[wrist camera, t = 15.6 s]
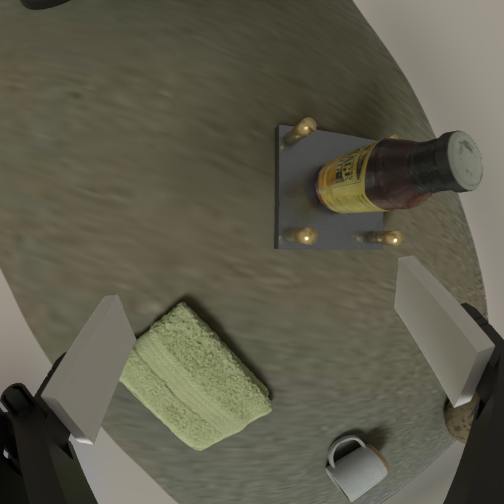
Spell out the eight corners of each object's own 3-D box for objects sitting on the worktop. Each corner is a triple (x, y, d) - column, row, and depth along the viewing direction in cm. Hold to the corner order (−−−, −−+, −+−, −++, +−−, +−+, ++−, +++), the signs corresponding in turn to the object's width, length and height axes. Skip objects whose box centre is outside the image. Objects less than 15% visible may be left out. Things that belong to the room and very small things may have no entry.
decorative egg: (427, 433, 45) (476, 468, 30) (440, 386, 44) (499, 418, 30) (460, 416, 47) (507, 444, 33) (473, 372, 47) (527, 396, 32)
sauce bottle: (336, 151, 35) (462, 94, 15) (366, 192, 36) (502, 167, 16) (299, 185, 34) (424, 138, 14) (333, 227, 35) (472, 224, 16)
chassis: (275, 128, 34) (294, 108, 28) (374, 144, 38) (404, 132, 31) (274, 248, 35) (295, 252, 29) (375, 248, 38) (408, 252, 32)
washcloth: (197, 448, 35) (200, 463, 32) (103, 356, 32) (97, 366, 29) (276, 396, 37) (284, 408, 34) (189, 291, 34) (190, 297, 31)
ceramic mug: (373, 456, 42) (396, 479, 34) (333, 482, 40) (353, 509, 33) (358, 422, 40) (384, 447, 33) (312, 451, 39) (334, 481, 31)
